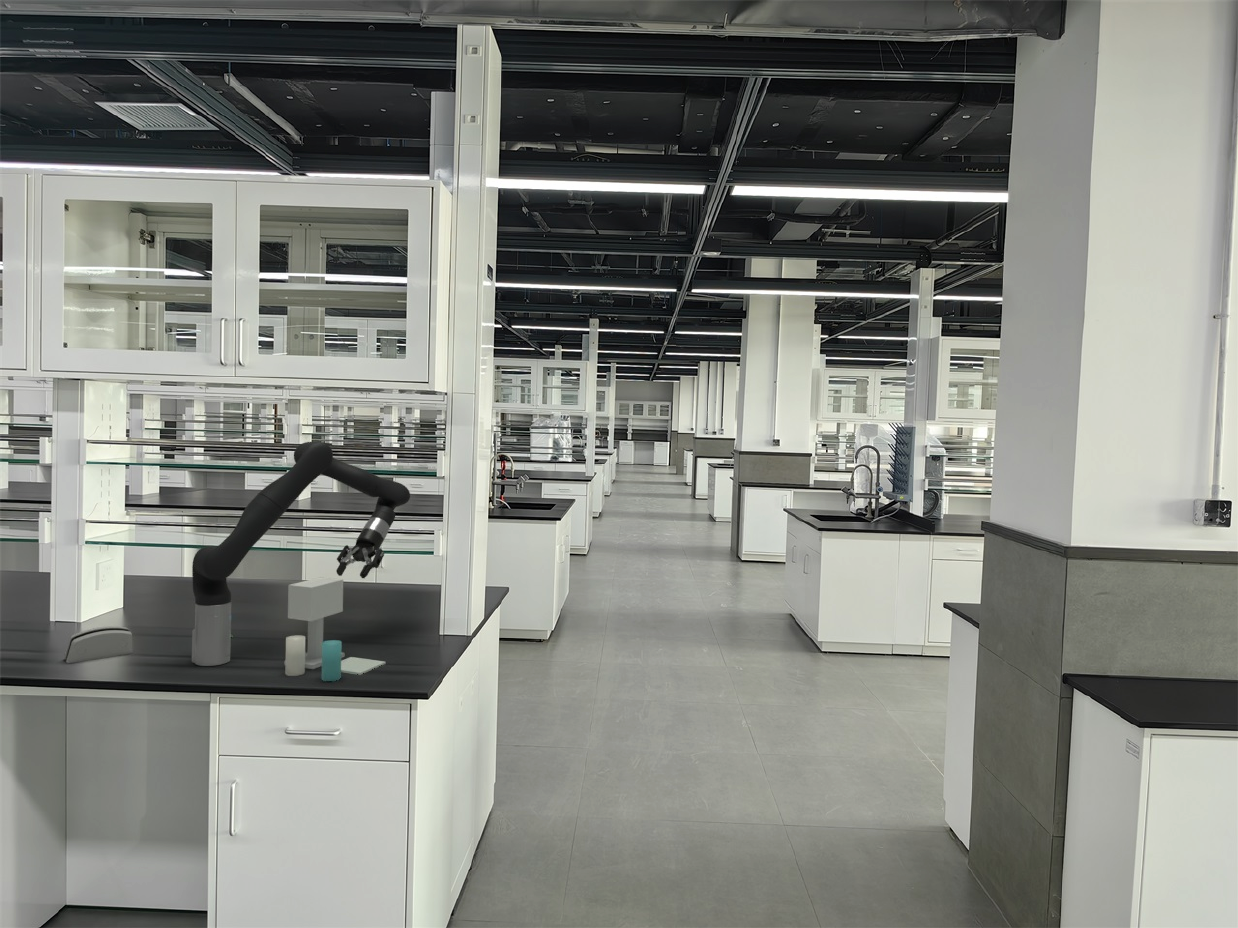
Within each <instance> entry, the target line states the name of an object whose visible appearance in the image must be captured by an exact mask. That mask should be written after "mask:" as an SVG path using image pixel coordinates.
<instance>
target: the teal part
mask: <svg viewBox="0 0 1238 928" xmlns="http://www.w3.org/2000/svg"><path fill="white" fill-rule="evenodd" d="M341 652H342V640H337V639H333V640H332V639H331V640H329V639H328V640H323V642H322V666H321V679H322V680H323V682H326V681H332V682H337V681H339V679H340V678H341V677H342V672H341V661H342V658H341ZM322 680H321V681H322ZM336 680H337V681H336ZM340 680H341V679H340Z"/></svg>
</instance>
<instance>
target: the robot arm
mask: <svg viewBox="0 0 1238 928" xmlns="http://www.w3.org/2000/svg"><path fill="white" fill-rule="evenodd" d="M293 460H294V462H295V464H294V465H293V466H292V467H291V468H290V469H289V470H288V471H287V472H286V473H285V474H283V475H281V476H280V477H278V478H277V479H275V480H274V481H272V482H271V483H269V484H268V485H267V486H265V487H264V488H263V489H262V490H260V491H259V492H258V493H257V495H255V496H254V498H253V499H251V501H250V502H249V503H248V504H247V506H246V507H245V508H244V510H243V511H242V513H241V515H240V518H239V520H238V522H237V524H236V526H235V528H234V529H233V531H232V532H231V533H230V534H229V535H228V536H227V537H226V538H225V539H224V540H223V541H222V542H221V543H220V544H218V545H206V546H203V547H201V548H200V549H198V550H197V551H196V553H194V556H193V559H192V560H193V561H192V566H191V567H192V571H191V572H192V574H191V575H192V577H191V578H192V591H193V595H194V600H195V603H194V609H195V610H194V628H193V629H192V631H191V663H194V664H195V665H197V666H200V667H213V666H219V665H225V664H226V663H230V662H231V645H232V644H231V640H232V639H231V635H232V634H231V633H232V623H231V622H232V619H231V616H232V593H231V592H232V591H230V590H231V589H230V588H229V586H228V582H227V579H228V578H229V577H230V576H231V575H232V574H234V571H236V569H237V568H238V567H239V565H240V564H241V562H242V561H243V560H244V558H245V557H246V556H247V554H248V553H249V551H250V550H252V548H253V547H254V545H255V544H257V542H258V541H259V540H260V539H261V538H262V537H263V536H264V535H265V534H266V533H267V532H268V531H269V530H270V528H272V526H274V525H275V524H276V522H278V520H279V519H280V518H281V517H282V516H283V515H284V514H285V512H286V511H287V510H288V509H289V508H290V507H291V505H292V504H293V503H294V502H295V501H296V500H297V498H299V496H300V495H301V494H302V493H303V491H305V489H307V487H308V486H309V485H310V484H312V482H313V481H315V480H316V479H317V478H318V477H320V476H321V475H322V476H324V477H328V478H330V479H333V480H334V481H338V482H339V483H342V484H344V485H346V486H348V487H350V488H352V489H354V490H356V491H358V492H360V493H362V494H363V495H367V496H369V497H371V498H377V501H376V504H375V508H374V511H373V512H372V514H371V516H370V517H369V519H368V521H366V523H365V525H364V526H363V527H362V530H361V532H360V533H359V534H358V537H357V539H356V540H355V541H356V542H355V545H354V546H352V547H350V546H349V545H348V544H347V545H346V544H345V546H344V547H343V548H342V549H341V552H340V553H339V554H338V556H337V558H336V560H337V562H338V563H339V565H338V567H337V569H336V574H337V575H338V576H339V577H341V576H343V574H344V572H345V571H346V569H347V566H349V565H351V564H354V563H356V562H361V563H365V565H363V568H362V570H361V571H360V573H359V577H360V578H361V579H366V577H367V576H368V575H369V574H370V571H371V570H373V569H378V568H379V566H380V564H381V562H382V561H383V558H384V556H385V552H384V550H383V549H382V548H381V546H382V544H383V542H384V540H385V539H386V537H387V536H388V533H389V530H390V528H391V526H392V525H393V523H394V521H395V518H396V512H395V509H396V508H398V507H400V506H403V505H405V504H407V503H408V502H409V500H410V499H411V492H410V490H409V488H408V487H407V486H405V485H404V484H403V483H400V482H398V481H395V480H390V479H386V478H382V477H380V476H378V475H376V474H374V473H372V472H370V471H368V470H367V469H363V468H360V467H359V466H355V465H352V464H349V463H347V462H345V461H341V460H339V459H337V458H335V457H334V451H333V449H332V447H331V446H330V445H329V444H328V443H325V442H321V441H305V442H303V443H300V444H299V445H298V446H296V448H295V450H294V453H293ZM382 551H383V552H382Z"/></svg>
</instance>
